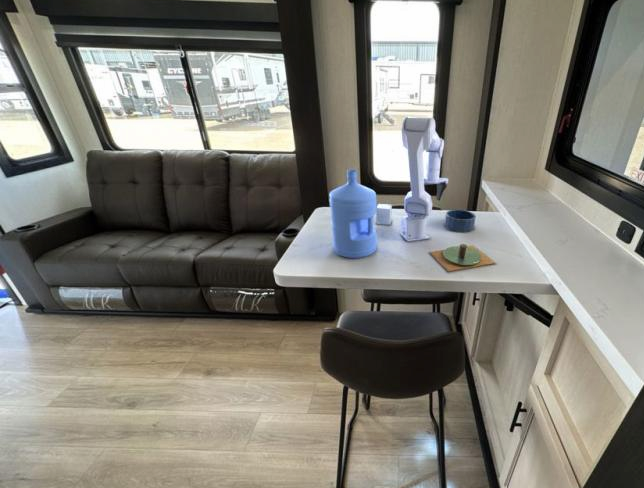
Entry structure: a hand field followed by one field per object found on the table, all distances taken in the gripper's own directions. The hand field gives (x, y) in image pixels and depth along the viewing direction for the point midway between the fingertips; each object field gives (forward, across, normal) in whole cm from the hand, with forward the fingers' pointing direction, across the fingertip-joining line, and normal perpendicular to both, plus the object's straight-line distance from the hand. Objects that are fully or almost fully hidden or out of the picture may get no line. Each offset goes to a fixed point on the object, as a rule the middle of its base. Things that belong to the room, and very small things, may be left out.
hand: (430, 200), depth 133 cm
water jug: (+10, +38, +18) cm, 43 cm away
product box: (+10, +20, -4) cm, 23 cm away
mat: (+9, +4, +36) cm, 37 cm away
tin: (+9, -10, +10) cm, 17 cm away
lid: (+8, +4, +36) cm, 37 cm away
